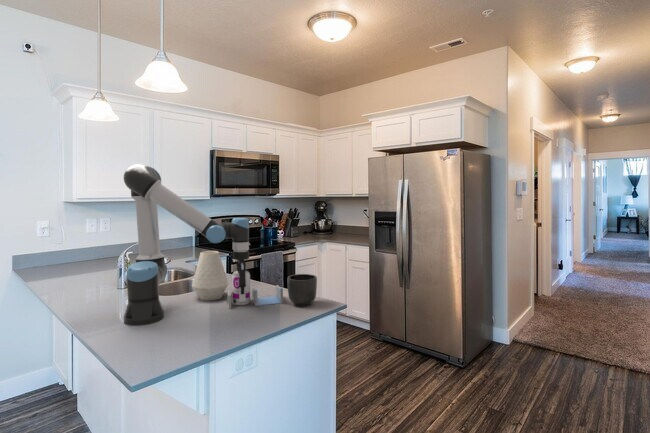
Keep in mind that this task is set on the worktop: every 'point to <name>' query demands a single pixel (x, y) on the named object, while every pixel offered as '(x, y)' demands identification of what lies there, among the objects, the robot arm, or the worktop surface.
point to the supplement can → (236, 290)
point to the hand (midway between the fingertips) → (241, 298)
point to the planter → (302, 289)
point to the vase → (210, 276)
